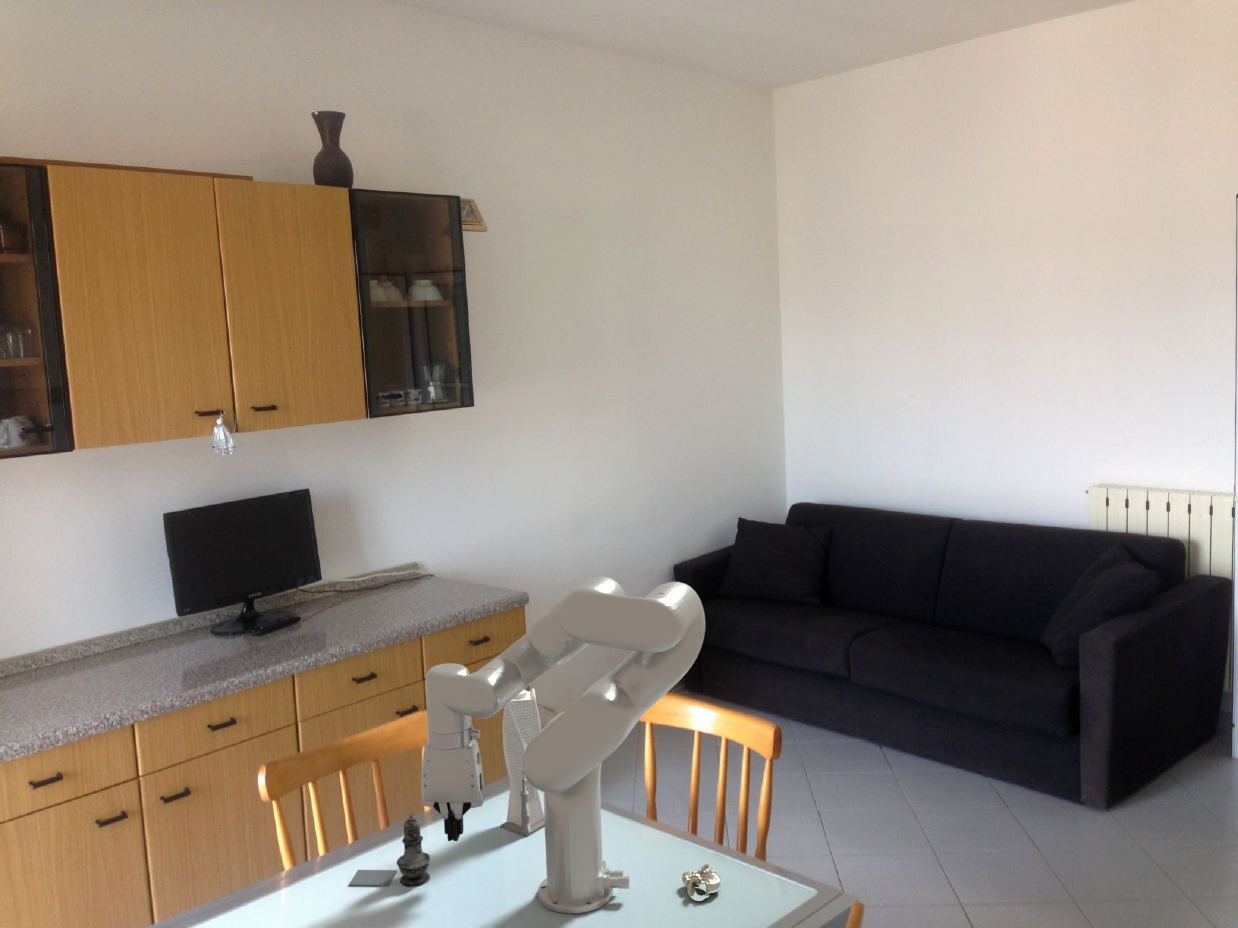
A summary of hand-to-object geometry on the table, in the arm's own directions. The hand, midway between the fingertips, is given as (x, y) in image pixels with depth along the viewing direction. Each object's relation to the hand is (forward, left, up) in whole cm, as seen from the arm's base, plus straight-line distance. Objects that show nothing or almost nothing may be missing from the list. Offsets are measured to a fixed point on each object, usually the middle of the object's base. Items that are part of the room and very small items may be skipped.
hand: (454, 837), depth 180 cm
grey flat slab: (+15, 0, -8) cm, 17 cm away
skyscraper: (-9, -21, -8) cm, 24 cm away
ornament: (-43, +3, -8) cm, 44 cm away
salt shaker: (+7, 0, -8) cm, 11 cm away
